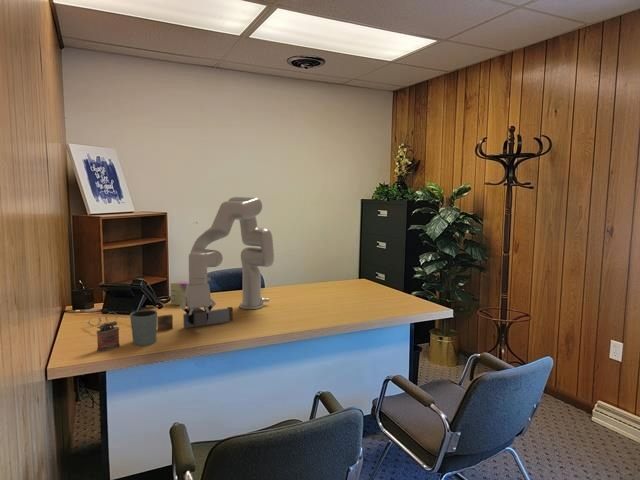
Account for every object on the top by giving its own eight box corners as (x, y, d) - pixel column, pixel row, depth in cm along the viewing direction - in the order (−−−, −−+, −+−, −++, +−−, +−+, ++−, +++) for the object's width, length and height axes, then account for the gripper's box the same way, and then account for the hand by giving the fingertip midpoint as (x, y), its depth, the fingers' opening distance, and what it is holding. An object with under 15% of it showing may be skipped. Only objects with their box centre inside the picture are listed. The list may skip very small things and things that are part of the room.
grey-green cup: (145, 348, 164) (144, 317, 163) (124, 344, 168) (123, 314, 167) (163, 339, 174) (162, 311, 173) (143, 336, 177) (142, 308, 176)
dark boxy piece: (197, 318, 190) (197, 306, 189) (206, 324, 182) (206, 312, 182) (186, 320, 187) (186, 308, 186) (195, 326, 179) (195, 313, 179)
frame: (231, 319, 204) (231, 306, 203) (232, 320, 202) (232, 307, 201) (157, 329, 186) (157, 316, 186) (158, 330, 185) (158, 317, 184)
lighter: (99, 352, 159) (98, 326, 158) (95, 349, 161) (94, 324, 160) (121, 346, 165) (120, 321, 164) (117, 344, 167) (116, 319, 166)
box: (193, 303, 230) (193, 281, 229) (189, 305, 225) (189, 283, 223) (175, 302, 231) (174, 280, 230) (170, 304, 226) (170, 282, 224)
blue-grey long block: (227, 319, 201) (227, 307, 200) (229, 321, 199) (229, 309, 198) (182, 326, 190) (182, 313, 190) (184, 327, 188) (184, 314, 187)
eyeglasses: (119, 320, 199) (119, 309, 199) (142, 328, 188) (141, 317, 188) (84, 328, 186) (83, 317, 186) (106, 338, 176) (106, 326, 175)
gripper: (215, 277, 189) (215, 317, 191) (175, 281, 180) (175, 322, 182) (220, 280, 182) (220, 322, 184) (179, 284, 173) (179, 327, 175)
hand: (198, 322), depth 183 cm, fingers closed on dark boxy piece, 5 cm apart
